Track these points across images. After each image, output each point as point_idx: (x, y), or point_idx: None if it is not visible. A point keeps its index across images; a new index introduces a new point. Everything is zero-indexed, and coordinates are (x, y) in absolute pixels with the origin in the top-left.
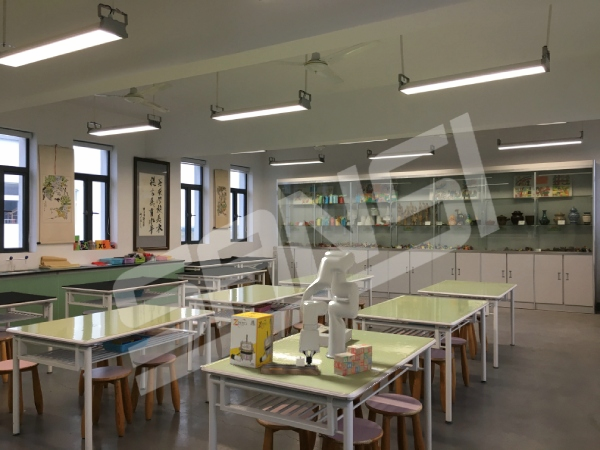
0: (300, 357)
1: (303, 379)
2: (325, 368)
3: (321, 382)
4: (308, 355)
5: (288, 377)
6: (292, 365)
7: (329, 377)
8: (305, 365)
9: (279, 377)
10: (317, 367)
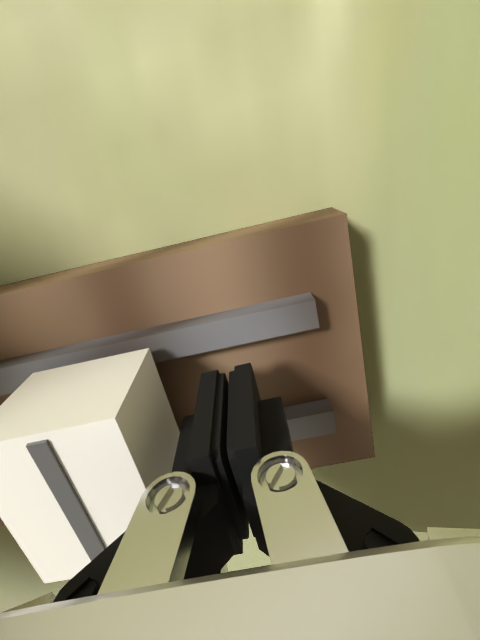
0: (78, 520)
1: (234, 568)
2: (450, 121)
3: None
4: (229, 556)
5: None
6: (7, 389)
7: (462, 475)
8: (181, 355)
9: (30, 569)
10: (351, 337)
